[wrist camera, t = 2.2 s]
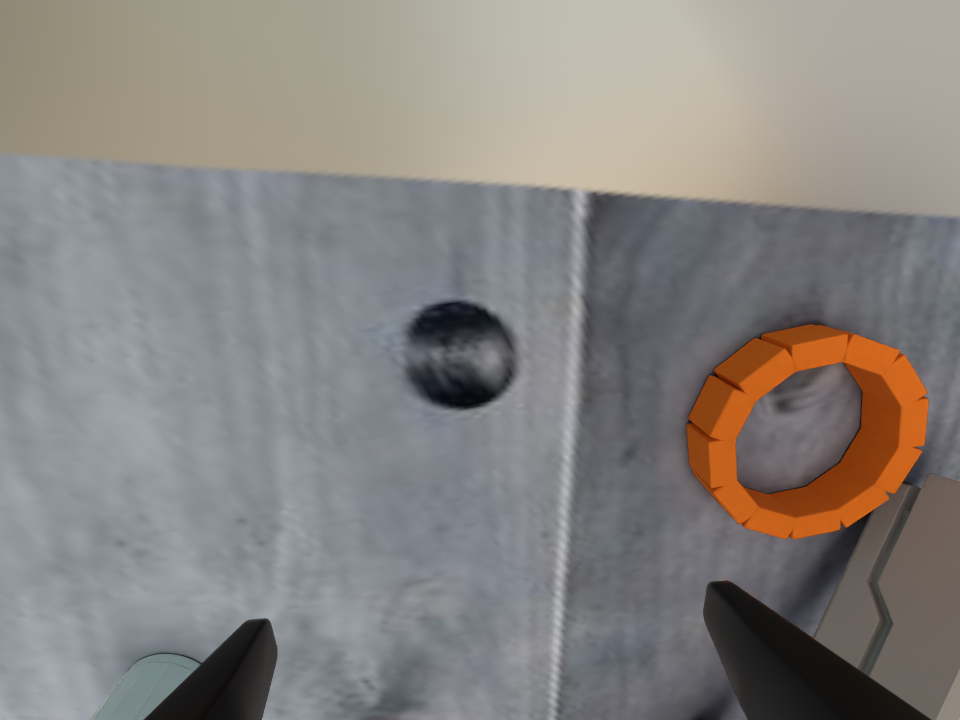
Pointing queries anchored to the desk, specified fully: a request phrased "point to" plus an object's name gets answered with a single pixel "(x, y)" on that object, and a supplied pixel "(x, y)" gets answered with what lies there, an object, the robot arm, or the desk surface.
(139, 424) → the desk surface
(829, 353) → the ring
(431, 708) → the desk surface
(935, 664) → the gun
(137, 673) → the cup
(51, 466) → the desk surface
